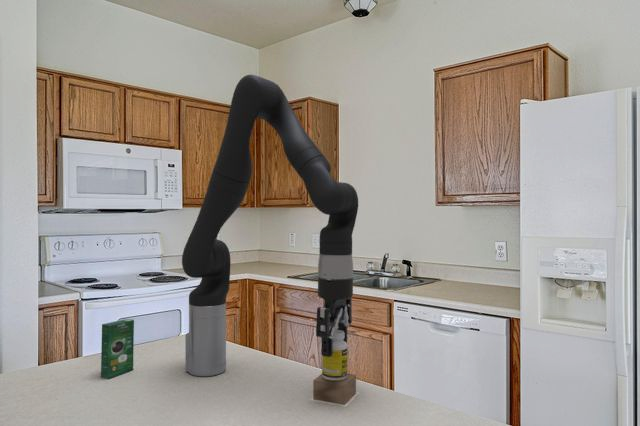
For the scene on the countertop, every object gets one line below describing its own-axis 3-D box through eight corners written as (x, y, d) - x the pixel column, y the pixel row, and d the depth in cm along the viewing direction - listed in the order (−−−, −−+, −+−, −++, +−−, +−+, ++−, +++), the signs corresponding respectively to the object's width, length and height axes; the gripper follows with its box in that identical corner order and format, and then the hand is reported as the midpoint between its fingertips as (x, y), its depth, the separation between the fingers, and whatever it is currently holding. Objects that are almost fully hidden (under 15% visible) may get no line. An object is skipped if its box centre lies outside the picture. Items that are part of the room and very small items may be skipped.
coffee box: (126, 368, 127) (126, 317, 127) (134, 369, 125) (134, 318, 125) (100, 377, 119) (100, 324, 119) (108, 379, 118) (108, 325, 118)
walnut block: (313, 399, 103) (313, 380, 103) (326, 388, 110) (326, 370, 110) (344, 404, 101) (344, 385, 101) (355, 393, 107) (355, 374, 107)
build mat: (292, 402, 105) (292, 396, 105) (316, 383, 116) (316, 379, 116) (346, 411, 100) (346, 406, 100) (365, 391, 111) (365, 386, 111)
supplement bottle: (345, 382, 102) (345, 335, 102) (319, 380, 103) (320, 334, 103) (349, 374, 107) (349, 329, 107) (324, 372, 108) (324, 328, 108)
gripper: (332, 270, 113) (331, 340, 113) (305, 278, 100) (304, 357, 100) (362, 272, 110) (362, 344, 110) (339, 280, 97) (338, 362, 97)
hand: (334, 350), depth 105 cm, fingers open, 8 cm apart
